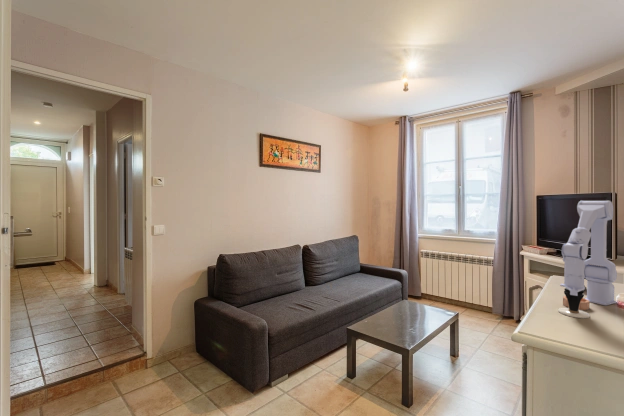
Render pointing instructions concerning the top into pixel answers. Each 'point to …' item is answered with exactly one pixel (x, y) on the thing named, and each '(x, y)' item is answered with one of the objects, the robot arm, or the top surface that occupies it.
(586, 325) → the top surface
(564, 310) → the lid
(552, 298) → the top surface
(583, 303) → the bowl
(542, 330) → the top surface
